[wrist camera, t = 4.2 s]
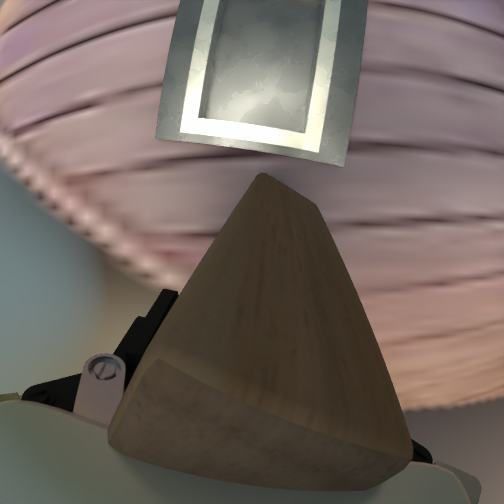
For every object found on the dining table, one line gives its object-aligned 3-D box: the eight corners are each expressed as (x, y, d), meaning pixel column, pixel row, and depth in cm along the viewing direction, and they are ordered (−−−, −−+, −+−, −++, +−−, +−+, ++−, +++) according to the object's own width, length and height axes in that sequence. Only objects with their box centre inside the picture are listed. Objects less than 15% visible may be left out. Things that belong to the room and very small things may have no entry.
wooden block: (249, 307, 23) (197, 556, 7) (196, 276, 23) (73, 505, 6) (319, 206, 20) (428, 462, 3) (261, 169, 20) (143, 349, 3)
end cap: (365, -3, 20) (376, -18, 16) (341, 166, 26) (351, 170, 23) (191, -28, 19) (182, -44, 16) (158, 138, 25) (144, 139, 22)
